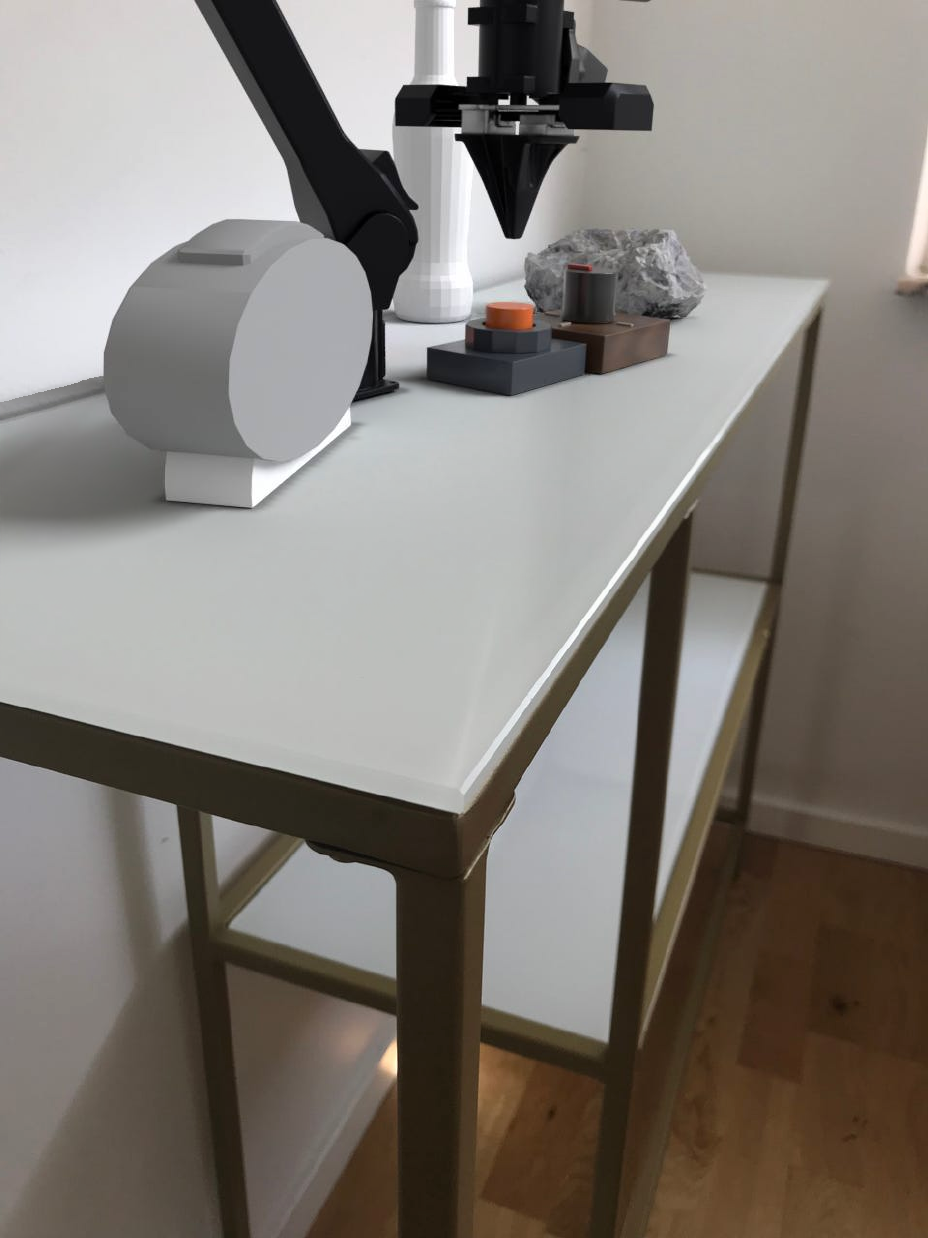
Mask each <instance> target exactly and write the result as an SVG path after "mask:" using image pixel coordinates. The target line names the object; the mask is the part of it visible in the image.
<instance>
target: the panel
mask: <svg viewBox="0 0 928 1238" xmlns="http://www.w3.org/2000/svg"><path fill="white" fill-rule="evenodd" d="M533 320H540V321H544V322H546V323H549V324H552V337H551V338H552V339H559V340H565V341H572V342H578V343H585V344H586V358H585V372H588V373H593V374H600V375H603V374H606V373H607V374H608V373H610V372H613V371H617V370H620V369H623V368H627V367H630V366H633V365H637V364H640V363H643V362H644V363H645V362H646V361H650V360H654V359H657V358H660V357H664V356H667V355H668V350H669V340H670V330H671V319H669V318H663V319H662V318H654V317H647V316H639V315H631V314H624V313H616V312H615V313H614V321H612V322H609V323H601V324H586V323H575V322H569V321H565V320H563V319H562V309H559V310H554V311H549V312H544V313H540V312H538V313H535V314H534V313H533Z"/></svg>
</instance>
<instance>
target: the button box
mask: <svg viewBox="0 0 928 1238" xmlns="http://www.w3.org/2000/svg"><path fill="white" fill-rule="evenodd" d="M485 320H486V317H480V318H475V319H470V320H467V322H465V326H464V331H465V332H464V339H461V340H456V341H450V342H446V343H442V344H436V345H432V346H427V347H426V380H428V381H429V380H430V381H435V382H440V383H446V384H451V385H456V386H460V387H466V388H470V389H476V390H479V391H480V390H481V391H487V392H490V393H496V394H501V395H505V396H506V395H507V396H514V395H518V394H521V393H525V392H529V391H531V390H535V389H539V388H542V387H545V386H549V385H553V384H556V383H559V382H563V381H566V380H569V379H573V378H575V377H580V376H583V375H585V372H586V371H585V358H586V344H585V343H578V342H572V341H565V340H559V339H552V338H551V337H552V324H549V323H546V322H544V321H540V320H533V325H532V328H527V329H500V328H493V327H486V326H485Z"/></svg>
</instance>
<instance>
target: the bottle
mask: <svg viewBox="0 0 928 1238" xmlns="http://www.w3.org/2000/svg"><path fill="white" fill-rule="evenodd" d="M456 7H457V1H456V0H413V8H414V9H415V21H414V22H415V23H414V24H415V25H414V26H415V27H414V66H413V67H414V71H413V78H412V80H411V82H410V83H409V85H430V84H440V85H455V86H460V85H459V84H458V82H457V80H456V77H455V9H456ZM391 125H392V126H391V127H392V128H391V132H392V133H391V135H392V137H391V139H392V151H393V152H392V155H393V160H394V162H395V165H396V168H397V171H398V174H399V178H400V181H401V183H402V186H403V188H404V189H405V191H406V192H407V194H408V195H409V197H410V198H411V199H412V200H413V201H414V202H416V203H417V204H418V206H419V208H418V209H417V210H409V211H410V212H411V214H412V215H413V217H414V220H415V223H416V226H417V229H418V238H419V240H418V243H417V244H416V248H415V253H414V257H413V259H412V261H411V263H410V264H409V266H408V268H407V269H406V270H405V271H404V272H403V273H402V274H401V275H400V276H399V280H398V283H397V286H396V289H395V292H394V295H393V299H392V303H393V308H394V313H395V315H396V316H397V318H399V319H401V320H403V321H405V322H411V323H420V324H449V323H451V324H452V323H458V322H462V321H464V320H466V319H467V318H468V317H469V316H470V314H471V310H472V306H473V303H474V301H473V299H474V281H473V277H472V275H471V273H470V269H469V262H468V241H469V240H468V239H469V229H470V228H469V227H470V216H471V215H470V212H471V201H472V199H471V198H472V189H473V176H474V175H473V173H474V163H473V161H472V159H471V157H470V155H469V153H468V151H467V149H466V147H465V145H464V143H463V142H461V141H455V134H461V128H460V127H410V126H395V111H394V112H393V118H392V124H391Z"/></svg>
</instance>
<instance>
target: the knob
mask: <svg viewBox="0 0 928 1238" xmlns="http://www.w3.org/2000/svg"><path fill="white" fill-rule="evenodd" d="M617 276H618V271H617V270H614V269H609V268H599V267H593V266H589V265H579V264H568V268H566V269H565V273H564V289H563V306H562V319H563V320H565V321H569V322H575V323H586V324H601V323H609V322H612V321H614V313H615V301H616V288H617Z"/></svg>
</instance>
